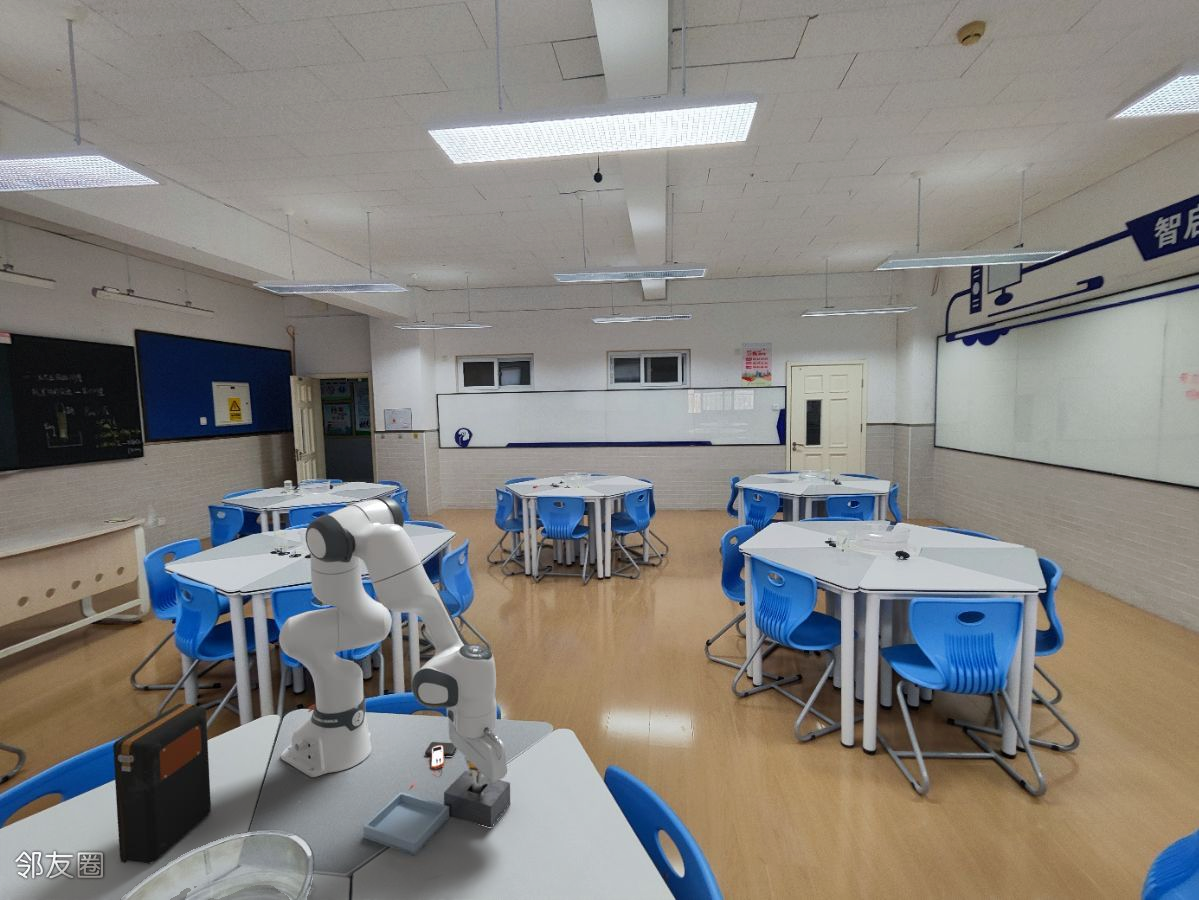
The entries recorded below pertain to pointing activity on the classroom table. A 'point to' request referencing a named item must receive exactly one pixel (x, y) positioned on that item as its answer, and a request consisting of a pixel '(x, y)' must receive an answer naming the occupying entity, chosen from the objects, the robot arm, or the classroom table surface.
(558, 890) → the classroom table surface
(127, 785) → the black case
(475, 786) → the pin
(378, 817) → the tray
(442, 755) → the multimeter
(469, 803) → the block
